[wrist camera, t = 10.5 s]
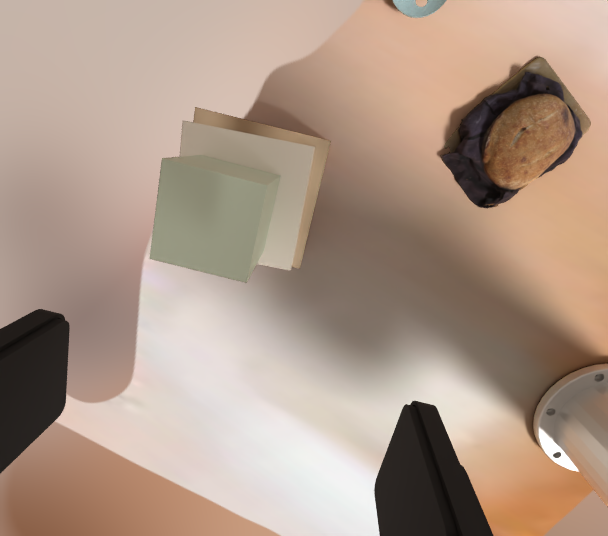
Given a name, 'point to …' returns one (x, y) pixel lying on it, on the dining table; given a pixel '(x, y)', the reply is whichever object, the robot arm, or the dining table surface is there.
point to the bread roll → (515, 135)
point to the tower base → (285, 135)
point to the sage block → (212, 215)
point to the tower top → (270, 158)
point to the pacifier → (408, 7)
